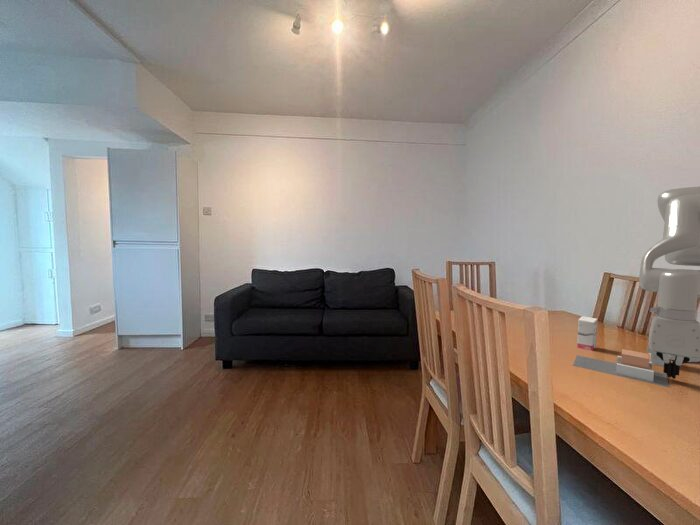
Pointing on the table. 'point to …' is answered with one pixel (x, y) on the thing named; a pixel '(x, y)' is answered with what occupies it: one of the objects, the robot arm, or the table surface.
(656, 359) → the skincare box
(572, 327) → the table surface
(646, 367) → the block
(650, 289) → the robot arm
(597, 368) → the channel base
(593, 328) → the ink box
